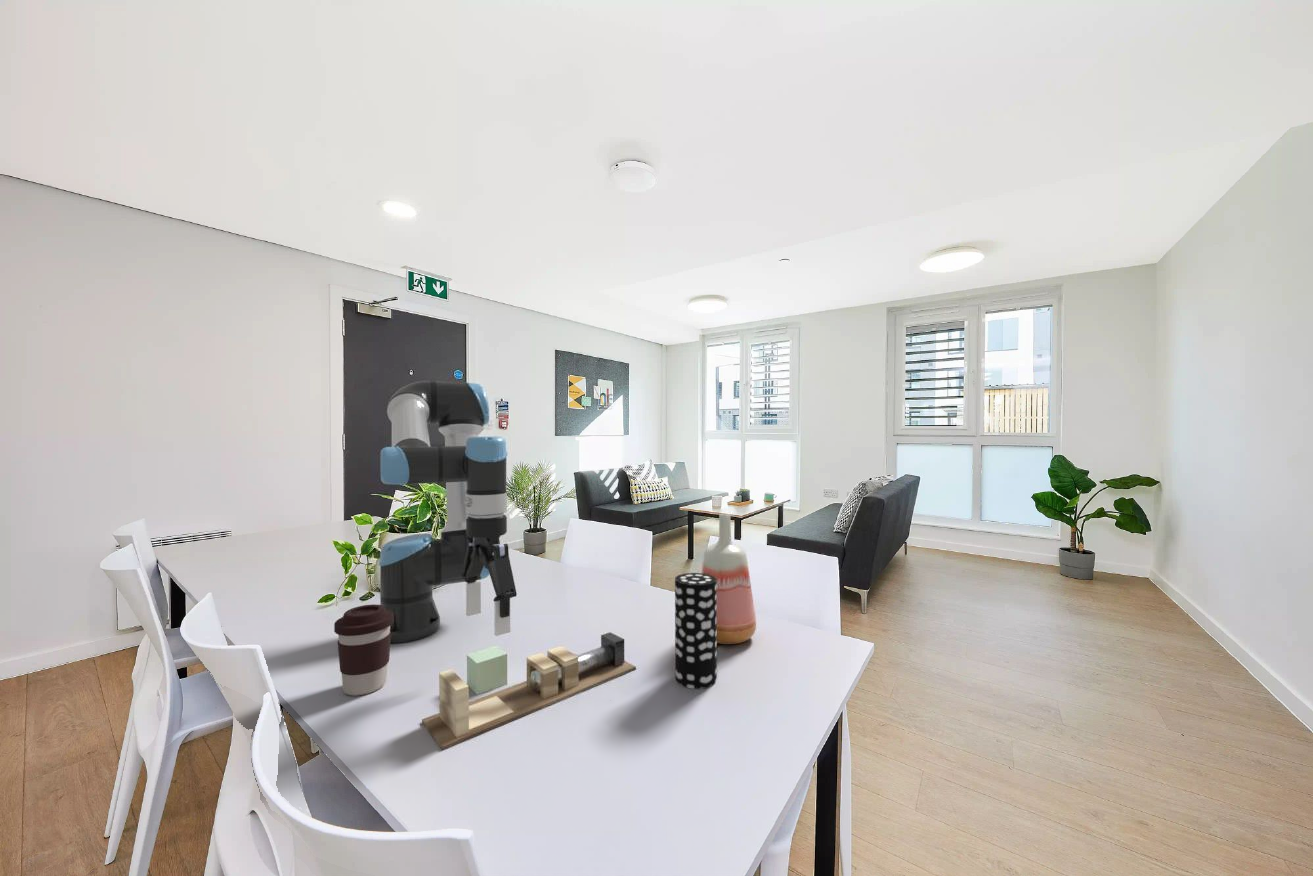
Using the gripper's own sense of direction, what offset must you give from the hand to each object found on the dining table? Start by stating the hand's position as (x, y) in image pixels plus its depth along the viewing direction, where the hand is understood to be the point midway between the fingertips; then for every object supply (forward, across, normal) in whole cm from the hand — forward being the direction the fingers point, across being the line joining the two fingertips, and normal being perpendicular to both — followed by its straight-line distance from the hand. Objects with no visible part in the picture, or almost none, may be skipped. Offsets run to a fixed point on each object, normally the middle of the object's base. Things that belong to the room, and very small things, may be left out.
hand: (487, 623), depth 96 cm
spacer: (+12, 0, 0) cm, 12 cm away
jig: (+12, +10, +6) cm, 17 cm away
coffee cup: (+12, -15, -18) cm, 27 cm away
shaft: (+11, +10, +15) cm, 21 cm away
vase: (+12, +17, +52) cm, 56 cm away
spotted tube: (+12, +26, +32) cm, 43 cm away
